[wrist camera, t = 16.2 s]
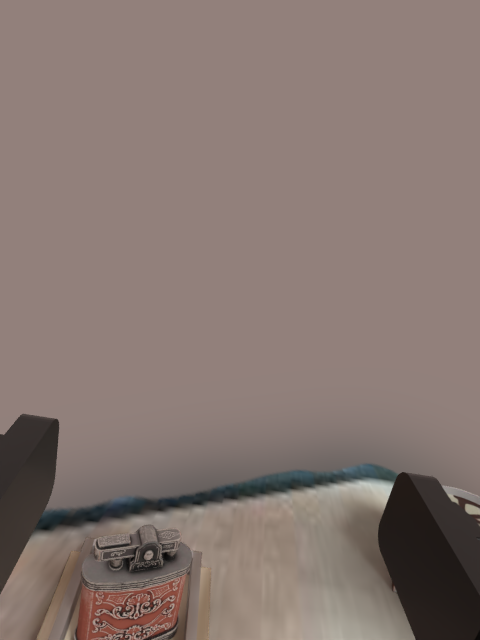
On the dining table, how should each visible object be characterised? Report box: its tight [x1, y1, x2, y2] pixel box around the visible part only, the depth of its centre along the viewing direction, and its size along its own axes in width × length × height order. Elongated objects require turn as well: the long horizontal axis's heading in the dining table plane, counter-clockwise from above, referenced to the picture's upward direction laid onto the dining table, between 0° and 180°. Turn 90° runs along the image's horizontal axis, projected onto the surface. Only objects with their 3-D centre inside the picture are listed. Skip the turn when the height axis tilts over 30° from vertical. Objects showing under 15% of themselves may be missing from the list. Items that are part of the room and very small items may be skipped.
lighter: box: [74, 525, 192, 640], centre depth 34 cm, size 8×3×10 cm, turn 111°
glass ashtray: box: [36, 537, 211, 640], centre depth 35 cm, size 13×14×3 cm
